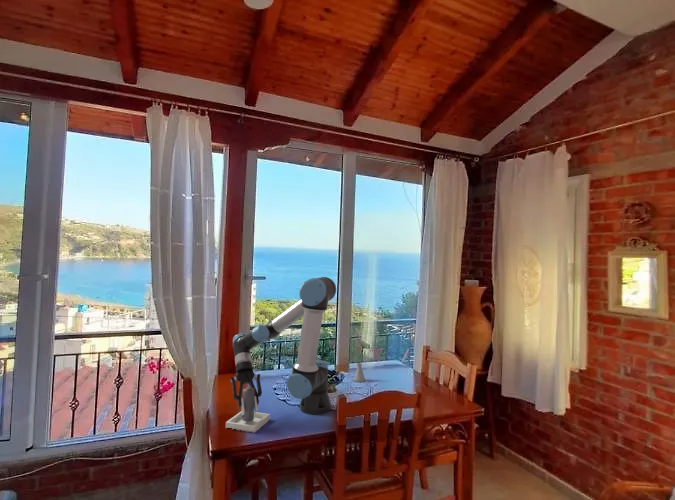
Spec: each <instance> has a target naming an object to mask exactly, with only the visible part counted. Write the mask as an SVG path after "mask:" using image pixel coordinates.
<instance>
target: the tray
mask: <svg viewBox="0 0 675 500" xmlns="http://www.w3.org/2000/svg"><path fill="white" fill-rule="evenodd" d="M242 419H243V415H242V410H240V411H239V412H238V413H237V414H235V415H233V417H231V418H230V419H228V420H227V421H225V429H227V428H232V429H231V430H234V429H236V430H235V431H240V430H241V431H242V432H248V433H254V434H255V433H256V432H258V431H259V430H260V429H261V428H262V427H264V425H266V424H267V423H268V422H269V421H270V420H271V414H270V413H265V412H260V411H259V412H258V411H257V413H255V411H254V420H253V421H249V422H246V421H243V420H242Z"/></svg>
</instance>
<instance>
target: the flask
mask: <svg viewBox="0 0 675 500" xmlns="http://www.w3.org/2000/svg"><path fill="white" fill-rule="evenodd" d="M362 366H363V363H361V362H357V363H356V371H355V374H354V376H353V379H352V382H353V381H354V382H357V383H362V382H363V383H364V382H365V381H366V377H365V375H364V371H363V367H362Z"/></svg>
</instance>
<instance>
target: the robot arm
mask: <svg viewBox="0 0 675 500" xmlns="http://www.w3.org/2000/svg"><path fill="white" fill-rule="evenodd" d="M298 292H299V293H298V294H299V298H300V299H299V300H297V301H296V302H295V303H294V304H292V305H290V306H289V307H288V308H287V309H286V310H284V311H283V312H282V313H280V314H279V315H278V316H276V317H275V318H274V319H272V320H271V321H270V322H269V323H267V324H266V325H263V324H258V325H257V326H255V327H253V328H252V329H251V330H250V331H249V332H247V333H243V332H240V333H239V334H235V335H234V336H233V338H232V349H233V354H234V363H235V372H236V373H235V374H236V375H235V376H231V377H230V379H229V380H230V383H231V389H232V396H233V397H232V398H233V400H234V401H235V400H237V405H238V407H239V408H241V411H242V415H244V413H245V410H244V402H243V397H242V396H243V389H244V387H243V386H244V385H245V384H247V385H248V387H252V388H254V412H255V413H257V412H258V410H259V408H258V405H259V403H260V400H259V397H261V396H262V394H263V391H262V386H261V379H260V378H261V373H258V374H255V372H254V369H253V362H252V355H251V350H253V349H254V348H255V347H257V346H258V345H260V344H263V343H265V342H267V341H270V340H273V339H276V338H277V337H279V336H280V334H281V333H282V332H284V331H285V330H286V329H288V328H289V327H290V326H292V325H293V324H295V323H296V322H298V321H299V320H300V319H301V318H302V324H301V325H302V326H301V331H300V336H299V337H300V338H299V344H298V345H299V346H298V351H297V358H296V362H294V363H293V365H292V371H291V374H290V375H288V378H287V380H286V388H287V389H286V390H287V391H288V392H289V394H290V396H292V397H294V398H295V399H298V400H300V402H299V410H300V411H301V412H302V413H305V414H311V415H321V414H326V413H327V412H329V411H331V409H332V402H331V398H330V395H329V392H328V383H329V381H328V380H329V377H328V376H329V367H328V362H327V361H325V360H321V359H318V358H317V357H318V349H319V345H320V336H321V330H322V322H323V315H324V312H326V311H327V310H328V304H329V302H330V301H332V300H333V298H334V297H335V296H336V293H337V285H336V283H335V282H334V280H333V279H332V278H329V277H327V276H321V277H313V278H309V279H307V280H305V281H304V282H303V283H302V284H301V285H300V288H299V291H298ZM253 379H255V380H256V383H255V384H256V387H255V384H254V380H253ZM237 381H238V382H239V388H238V392H237V386H236V382H237ZM237 393H238V394H237Z"/></svg>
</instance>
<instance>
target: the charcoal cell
mask: <svg viewBox="0 0 675 500" xmlns="http://www.w3.org/2000/svg"><path fill="white" fill-rule="evenodd" d="M242 398H243V402H244V410H245V413H244V415H243V419H242V420H243V421H246V422H249V421H253V420H254V412H255V408H254V388H252V387H250V386H247V387H245V388H244V387H243V388H242Z"/></svg>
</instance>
